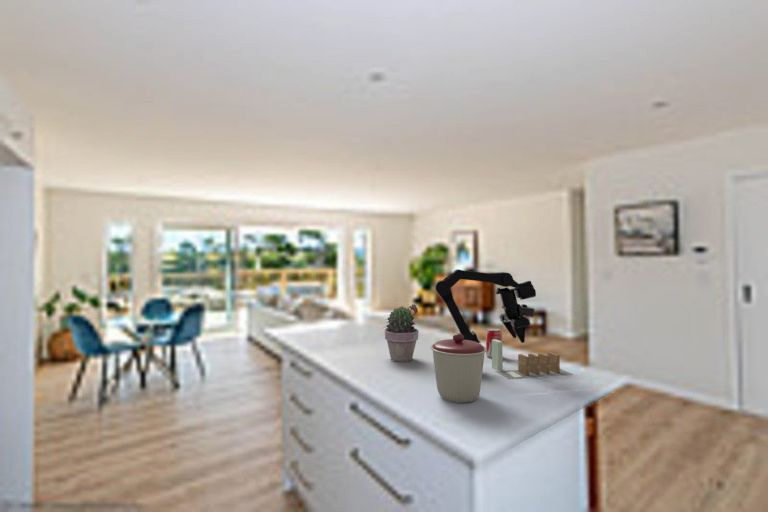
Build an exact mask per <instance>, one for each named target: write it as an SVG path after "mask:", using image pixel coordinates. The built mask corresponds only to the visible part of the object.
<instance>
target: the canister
mask: <svg viewBox="0 0 768 512" xmlns="http://www.w3.org/2000/svg"><path fill="white" fill-rule="evenodd" d="M463 339H464V336H463V335H462V334H460V332H456V333H454V334H453V336H452V338H451V339H449V338H447V339H443V340H438V341H436V342H435V343H433V344H431V345H430V350H432V358H433V367H434V375H435V381H436V389H437V392H438V395H439V396H440V397H441V398H442V399H443V400H445V401H449V402H451V403H459V404H461V403H463V404H465V403H466V404H467V403H471V402H474V401H476V400H477V399H478V398H479V396H480V394H481V387H482V379H483V373H484V372H483V370H484V362H485V354H486V351H487V349H486V346H484V345H483V344H482V343H478V342H475V341H470V340H463Z"/></svg>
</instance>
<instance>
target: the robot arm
mask: <svg viewBox="0 0 768 512" xmlns="http://www.w3.org/2000/svg"><path fill="white" fill-rule="evenodd" d="M460 280H466V281H467V280H468V281H476V282H483V283H484V282H485V283H490V284H493V285H497V286H500V287H504V288H500V287H496V290H495V291H494V294H495V295H500V299H501V304H502V305H501V308H502V309H503V311H504V313H501V314H500V316H499V319H500V322H501V323H502V324H503V326H504V327H505V328H506V330H507V331H508V332H509V334H510V335H511V336H512V338H513V339H516V338H518V339H519V341H520V342H521V343H522V344H524V343H525V342H526V339H525V338H526V329H527V328H528V327H529V326H530V325H531V322H530V319H529V318H527V317H525V316H528V317H529V316H530V317H534V316H535V308H533V307H528V305H527V304H525V303H524V304H523V303H522V304H521V303H518V299H519V300H520V301H523V300H527V299H533V298H535V297H536V296H537V292H536V291H537V290H536V289H535V287H534V285H533V283H532V281H531V280H526V281H523V282H520V283H518V282H517V281H516V280H514V278H513V275H512V274H511V273H510V272H504V271H501V272H500V271H499V272H489V273H488V272H481V271H471V270H462V269H457V268H456V269H454V271H453V272H452V273H450V274H449V275H447V276H446V277H444V278H443V279H439V280H437V281H436V282H435V284H434V291H435V292H437V295H438V296H439V297H440V299H441V300H442V301H443V302H444V304H445V305H446V308H447V309H448V312H449V313H450V315H451V317H452V319H453V322H454V324H455V325H456V327H457V330H458V332H459V333H460V334H462V335H463V336H464V339H463V340H470V341H475V342H478V343H480V344H482V343H481V341H480V340H479V338H478V335H477V333H476V332H475V331H474V330H472V331H470V329H469V327H468V326H467V323H466V321H465V319H464V317H463V315H462V314H461V311H460V310H459V308H458V305H457V304H456V301H455V300H454V296H453V291H452V287H454V286H455V285H456V284H457V283H458V282H459V281H460ZM509 287H511V288H509Z"/></svg>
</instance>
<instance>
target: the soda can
mask: <svg viewBox="0 0 768 512" xmlns="http://www.w3.org/2000/svg"><path fill="white" fill-rule="evenodd" d="M501 330H502V329H500V328H498V327H487V328H486V331H485V347H486V349H487V351H486V352H485V356H486V357H487V358H489V359H492V340H494V339H496V340H499V341H501V342H502V343H503V339H502V338H503V335H502V334H503V333H502V331H501Z"/></svg>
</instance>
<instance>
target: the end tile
mask: <svg viewBox="0 0 768 512" xmlns="http://www.w3.org/2000/svg"><path fill="white" fill-rule="evenodd" d="M547 355H548V356H550V371H552V372H554V373H560V369H561V368H560V366H561V365H560V364H561V363H560V359H561V358H560V354H557V353H554V352H552V351H550V352H547Z"/></svg>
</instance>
